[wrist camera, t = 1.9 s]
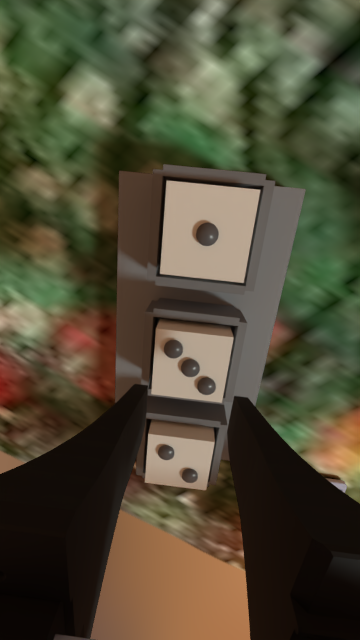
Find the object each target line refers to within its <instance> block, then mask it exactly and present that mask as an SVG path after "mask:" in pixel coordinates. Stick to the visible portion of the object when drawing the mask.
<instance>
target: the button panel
mask: <svg viewBox="0 0 360 640" xmlns="http://www.w3.org/2000/svg"><path fill="white" fill-rule="evenodd" d="M265 179H266V174H258V173H248V172H238V171H227V170H217V169H207V168H197V167H187V166H176V165H166V164H163V170H159V169H153V174H147V173H137V172H127V171H119V210H118V266H117V321H116V377H115V403H116V402H117V401H118V400H119V399H120V398H121V397H122V396H123V395H124V394H125V393H126V392H127V391H128V390H129V389H130V388H131V387H132V386H133V385H134V384H140V385H148V395H147V410H146V423H145V428H144V432H143V437H142V441H141V445H140V448H139V451H138V454H137V463H136V475H141V476H142V478H145V474H146V460H147V446H148V433H149V429H150V425H151V421H152V419H154V420H162V421H170V422H178V423H187V424H195V425H203V426H211V427H214V439H215V444H214V449H213V455H212V460H211V466H210V471H209V477H208V482H207V487H209V484H211V485H216V481H217V476H218V471H219V466H220V461H221V460H228V461H230V459H229V453H228V440H227V430H228V424H229V419H230V414H231V409H232V404H233V399H234V396H241V397H248V398H249V399H250V401H251V402H252V403H253V405H254V406H255V405H256V400H257V396H258V392H259V387H260V383H261V379H262V375H263V370H264V366H265V362H266V357H267V353H268V349H269V344H270V340H271V336H272V332H273V327H274V323H275V319H276V314H277V310H278V306H279V302H280V297H281V293H282V289H283V284H284V280H285V276H286V272H287V267H288V263H289V259H290V254H291V250H292V246H293V242H294V237H295V233H296V229H297V224H298V220H299V216H300V212H301V207H302V203H303V199H304V194H305V190H306V189H299V188H288V187H278V186H275V181H270V180H265ZM167 181H177V182H187V183H197V184H207V185H217V186H227V187H237V188H247V189H257V190H260V195H259V201H258V206H257V212H256V217H255V223H254V228H253V234H252V239H251V245H250V250H249V256H248V261H247V267H246V273H245V278H244V283H239V282H230V281H221V280H212V279H203V278H193V277H184V276H175V275H166V274H160V266H161V253H162V239H163V225H164V211H165V197H166V183H167ZM160 318H162V319H171V320H179V321H188V322H197V323H206V324H215V325H224V326H230V328H231V331H232V334H233V337H234V339H233V344H232V350H231V355H230V361H229V366H228V372H227V377H226V383H225V388H224V394H223V399H222V403H220V402H211V401H203V400H195V399H187V398H178V397H170V396H162V395H153V394H151V391H152V377H153V363H154V349H155V335H156V327H157V325H158V322H159V320H160Z"/></svg>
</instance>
